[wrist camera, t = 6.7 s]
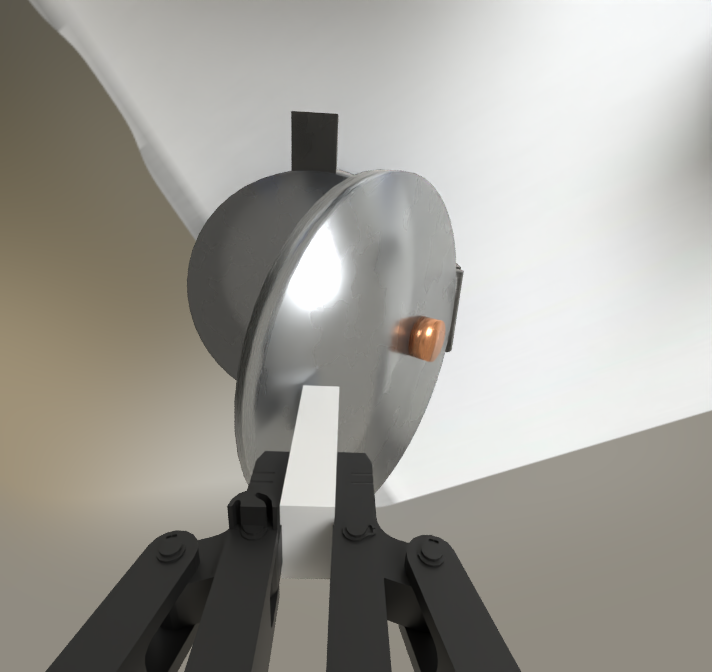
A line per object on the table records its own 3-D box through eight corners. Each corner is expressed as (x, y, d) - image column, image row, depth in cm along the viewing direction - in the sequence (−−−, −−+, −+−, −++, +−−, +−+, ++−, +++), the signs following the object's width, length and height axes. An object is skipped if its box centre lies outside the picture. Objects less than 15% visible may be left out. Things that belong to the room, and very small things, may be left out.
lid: (215, 165, 13) (276, 170, 12) (461, 171, 29) (498, 173, 28) (244, 598, 20) (283, 630, 19) (427, 414, 36) (456, 425, 35)
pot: (220, 118, 38) (168, 102, 27) (444, 132, 39) (483, 121, 28) (235, 372, 47) (201, 438, 36) (414, 379, 48) (435, 445, 37)
